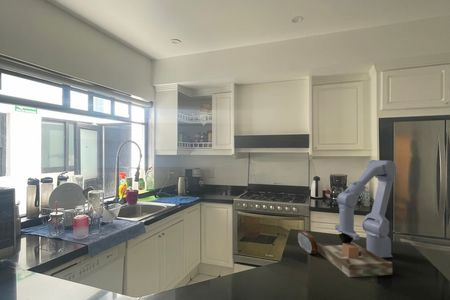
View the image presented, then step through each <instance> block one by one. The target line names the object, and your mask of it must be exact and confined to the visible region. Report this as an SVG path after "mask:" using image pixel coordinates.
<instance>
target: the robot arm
mask: <svg viewBox="0 0 450 300" xmlns="http://www.w3.org/2000/svg"><path fill="white" fill-rule="evenodd" d="M396 170H397V166H396V164H395V162H394V161H393V160H380V159H379V160H378V159H371V160H369V162H368V163H367V164H366V169H365V170H364V172H363V173H362V174H361V175H360V177H359V178H358V180H353V181H351V182H350V185H349V186H348V187H347V188H346V189H345V190H344V191H343V192H340V193H339V194H338V195H337V197H336V199H335V200H336V202H337V205H338V209H339V211H338V212H339V214H338V215H339V220H338V222H339V223H338V224H335V225H334V229H335V231H337V232H338V236H339V238H340V240H341V243H342V245H343V243H351V242H353V240H354V241H359V240H360V234H358V233H357V232H356V231H355V230H354V229H355V223H354V221H355V210H354V209H355V206H357V204H358V201H359V197H360V196H361V195H362V194H363V192H364V191H366V185H367V184H368V183H369V182H370V181H371V180H372V179H373V178H377V180H378V184H377V187H376V191H375V196H374V201H373V204H372V207H371V212H370V213H367V214H365V218H364V219H363V221H362V223H361V225H362V230H364V232H365V233H364V234H366V250H368V251H370V252H372V253H373V254H375V255H377V256H379V257H381V258H393V255H392V241H391V238H390V237H389V236H388V235H389V233H390V221H389V220H388V219H387V218H386V216H385V215H386V213H387V208H388V204H389V199H390V197H391V196H390V195H391V191H392V186H393V183H394V179H395V174H396Z"/></svg>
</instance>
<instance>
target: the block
mask: <svg viewBox="0 0 450 300" xmlns="http://www.w3.org/2000/svg"><path fill="white" fill-rule="evenodd" d="M342 254H344V255H345V256H346V257H348V258H358V256H359V247H357V246H356V245H354V244H353V243H343V244H342Z"/></svg>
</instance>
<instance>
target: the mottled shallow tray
mask: <svg viewBox="0 0 450 300" xmlns="http://www.w3.org/2000/svg"><path fill="white" fill-rule="evenodd" d="M316 243H317V253H319V255H321V256H322V257H323V258H324V259H326V260H327V261H329V262H330V263H331V264H332V265H334V266H335V267H336V268H337V269H339V270H340V271H341V272H343V273H344V274H345V276H347V277H348V278H353V277H354V278H356V277H357V278H358V277H371V276H372V277H373V276H386V275H387V276H388V275H390V276H391V275H393V262H392V261H388V260H386V259H384V258H383V257H379V256H377V255H375V254H373V253H372V252H370V251H368V250H367V248H364V247H363V246H361V245H360V244H357V243H355V242H353V241H351V243H353V244H354V245H356V246H357V247H359V256H358V258H348V257H346V256H345V255H344V254H342V245H343V244H342V245H341V244H339V245H338V244H336V245H322V244H321V243H318V242H316Z"/></svg>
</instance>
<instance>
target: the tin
mask: <svg viewBox="0 0 450 300" xmlns="http://www.w3.org/2000/svg"><path fill="white" fill-rule="evenodd" d="M297 242H298V245H299V247H300V248H301V249H302V250H303V251H304V252H306V253H307V254H308V255H316V254H317V253H318V252H317V243H318V242H317V240H316V239H315V237H314V236H313V235H311V234H310V233H309V232H307V231H306V230H299V231H297Z"/></svg>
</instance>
